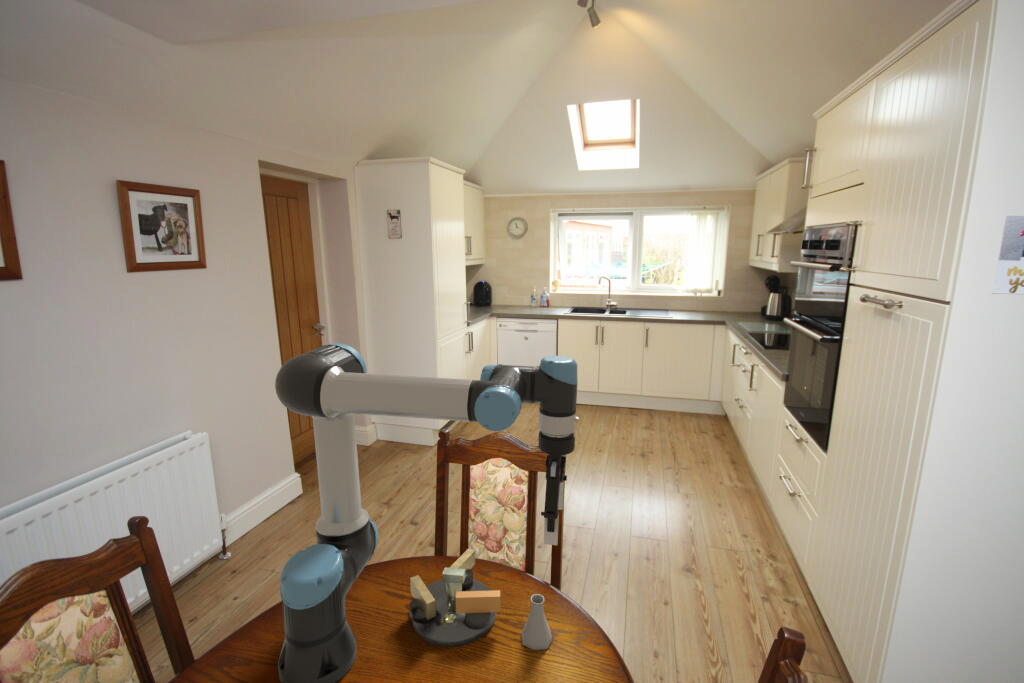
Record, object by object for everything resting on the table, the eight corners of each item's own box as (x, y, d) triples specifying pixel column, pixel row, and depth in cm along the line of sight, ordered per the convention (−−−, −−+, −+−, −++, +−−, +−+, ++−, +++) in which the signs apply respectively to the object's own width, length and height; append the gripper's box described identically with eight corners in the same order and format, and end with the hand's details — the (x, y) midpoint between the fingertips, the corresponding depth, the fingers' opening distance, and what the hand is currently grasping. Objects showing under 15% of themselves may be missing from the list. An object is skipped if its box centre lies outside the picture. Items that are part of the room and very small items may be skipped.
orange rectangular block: (455, 629, 105) (455, 604, 104) (457, 609, 111) (456, 585, 110) (500, 628, 106) (500, 602, 104) (499, 608, 111) (499, 584, 110)
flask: (550, 654, 102) (551, 613, 100) (517, 648, 103) (518, 608, 101) (554, 628, 109) (555, 590, 107) (523, 623, 110) (524, 585, 108)
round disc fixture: (397, 641, 105) (395, 597, 102) (427, 574, 127) (426, 536, 125) (488, 651, 102) (488, 606, 100) (503, 581, 124) (503, 543, 122)
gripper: (571, 457, 85) (567, 563, 89) (577, 412, 109) (574, 497, 113) (530, 454, 86) (528, 558, 90) (545, 410, 110) (543, 494, 114)
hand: (553, 525), depth 102 cm, fingers open, 13 cm apart
